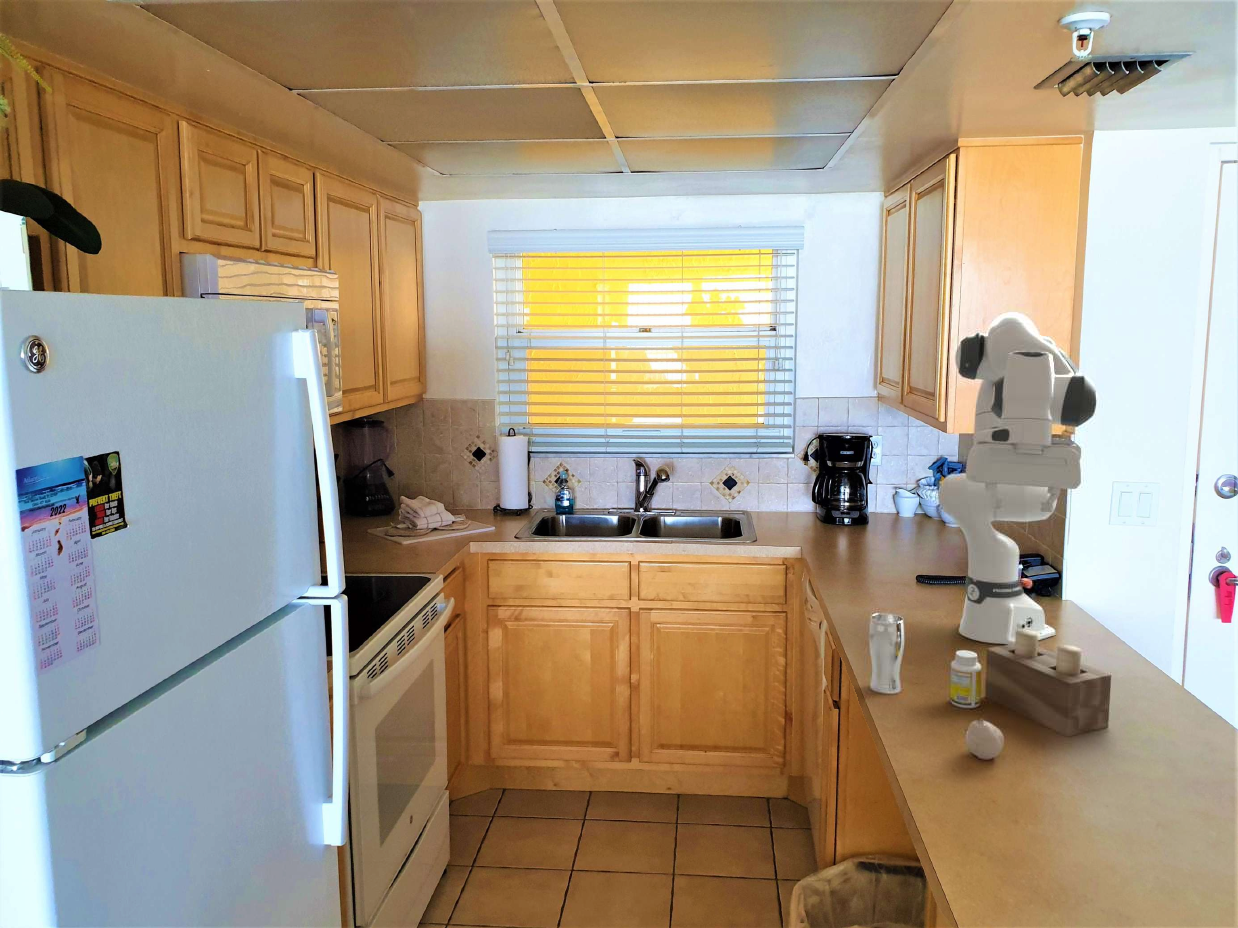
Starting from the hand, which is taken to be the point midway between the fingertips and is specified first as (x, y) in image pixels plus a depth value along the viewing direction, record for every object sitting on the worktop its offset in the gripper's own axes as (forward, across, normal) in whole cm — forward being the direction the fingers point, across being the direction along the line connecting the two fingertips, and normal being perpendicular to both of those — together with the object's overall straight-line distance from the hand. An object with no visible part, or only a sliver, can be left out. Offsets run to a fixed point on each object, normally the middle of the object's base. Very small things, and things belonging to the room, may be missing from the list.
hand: (1020, 510), depth 171 cm
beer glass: (+39, +18, -18) cm, 46 cm away
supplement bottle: (+39, +4, -10) cm, 40 cm away
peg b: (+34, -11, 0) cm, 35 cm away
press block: (+38, -9, -6) cm, 40 cm away
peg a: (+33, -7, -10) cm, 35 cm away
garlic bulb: (+43, +9, +12) cm, 45 cm away
